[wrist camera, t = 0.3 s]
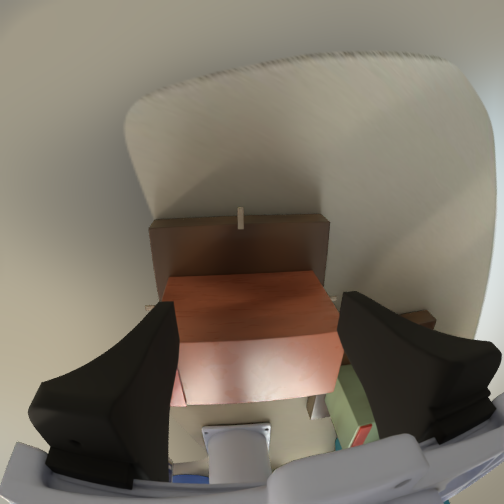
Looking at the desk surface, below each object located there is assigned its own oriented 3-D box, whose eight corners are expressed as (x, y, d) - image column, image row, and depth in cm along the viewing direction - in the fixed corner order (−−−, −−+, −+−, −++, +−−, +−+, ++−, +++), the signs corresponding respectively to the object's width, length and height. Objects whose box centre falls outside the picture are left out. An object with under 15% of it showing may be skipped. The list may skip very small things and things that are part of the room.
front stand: (336, 199, 21) (347, 206, 19) (317, 350, 26) (324, 365, 25) (138, 205, 20) (129, 213, 18) (164, 359, 25) (162, 376, 23)
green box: (420, 349, 26) (455, 396, 19) (405, 382, 28) (434, 427, 21) (332, 366, 25) (359, 428, 18) (324, 400, 27) (344, 457, 20)
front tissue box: (312, 270, 21) (351, 332, 14) (306, 327, 23) (334, 395, 16) (168, 276, 20) (148, 345, 13) (177, 334, 22) (167, 407, 15)
